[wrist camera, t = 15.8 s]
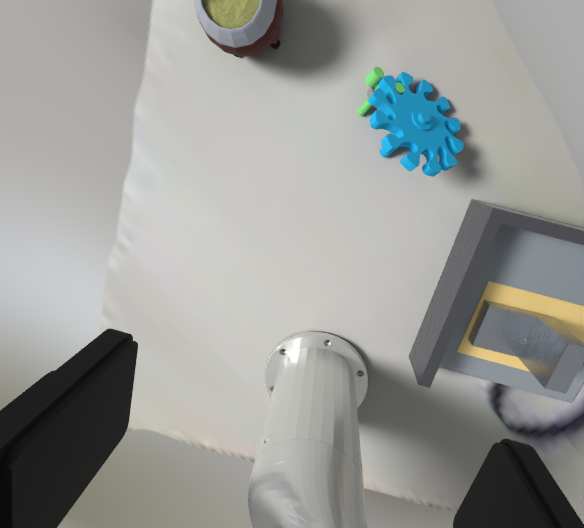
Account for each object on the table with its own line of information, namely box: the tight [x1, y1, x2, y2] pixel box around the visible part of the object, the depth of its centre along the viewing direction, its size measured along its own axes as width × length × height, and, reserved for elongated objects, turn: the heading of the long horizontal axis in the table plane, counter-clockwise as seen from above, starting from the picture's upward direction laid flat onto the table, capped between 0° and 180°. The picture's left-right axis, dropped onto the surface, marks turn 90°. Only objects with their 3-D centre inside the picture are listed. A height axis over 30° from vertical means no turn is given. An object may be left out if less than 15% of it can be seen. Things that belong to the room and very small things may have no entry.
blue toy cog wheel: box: [358, 67, 464, 176], centre depth 35 cm, size 11×6×10 cm
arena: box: [409, 199, 584, 403], centre depth 38 cm, size 19×19×6 cm
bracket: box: [468, 300, 584, 394], centre depth 38 cm, size 7×5×7 cm
